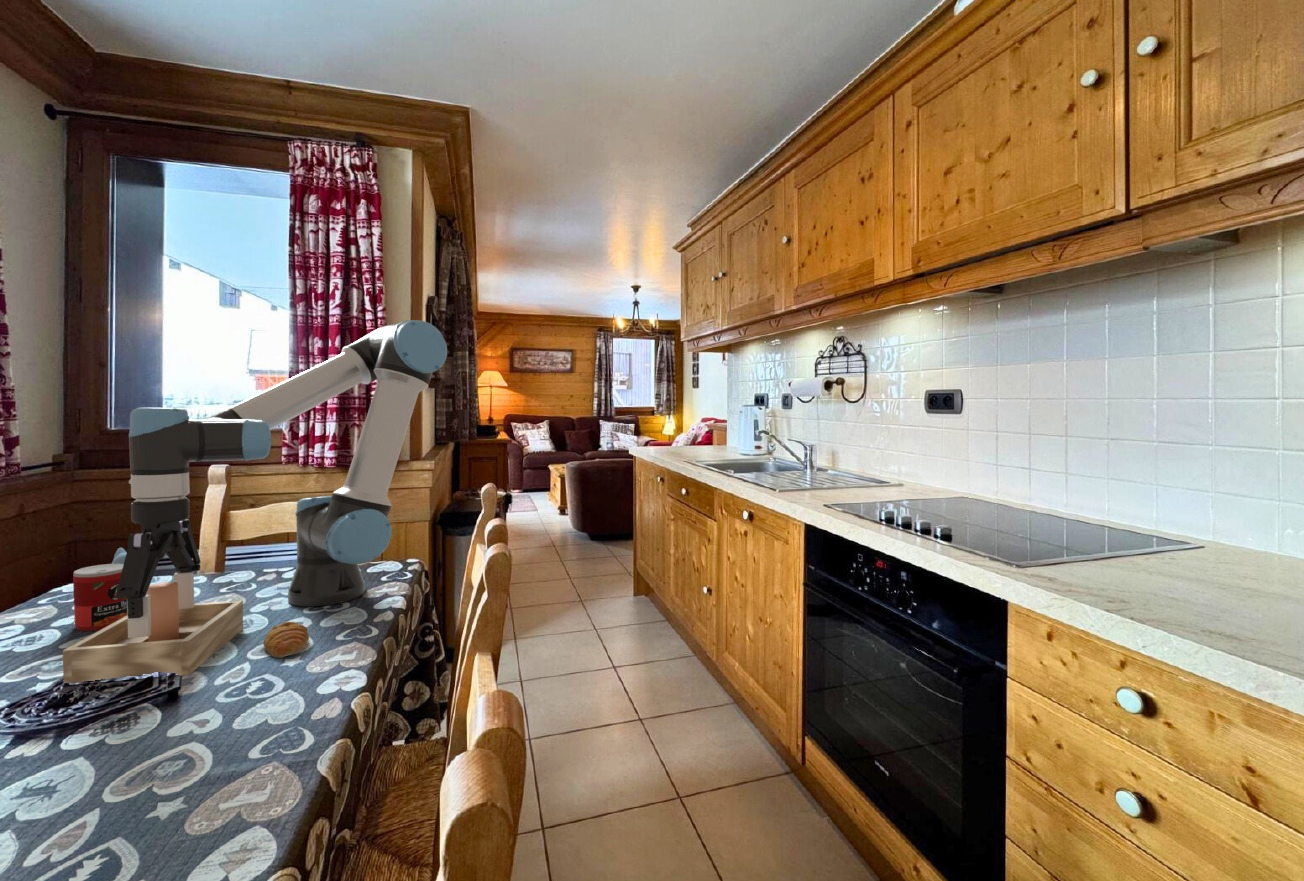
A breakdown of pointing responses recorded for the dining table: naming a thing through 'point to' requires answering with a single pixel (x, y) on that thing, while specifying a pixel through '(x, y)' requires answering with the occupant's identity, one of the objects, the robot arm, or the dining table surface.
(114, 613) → the canned food
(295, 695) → the dining table surface
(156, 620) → the peg
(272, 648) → the pastry
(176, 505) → the robot arm
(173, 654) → the box
